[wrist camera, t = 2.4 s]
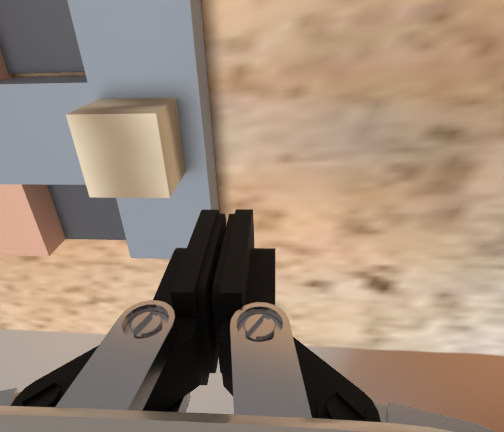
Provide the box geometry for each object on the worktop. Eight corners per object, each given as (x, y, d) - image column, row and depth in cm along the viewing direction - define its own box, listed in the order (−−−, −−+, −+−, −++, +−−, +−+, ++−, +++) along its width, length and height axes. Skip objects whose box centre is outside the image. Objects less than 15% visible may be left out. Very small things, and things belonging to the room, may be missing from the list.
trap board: (196, -45, 21) (167, -64, 16) (221, 238, 31) (209, 284, 26) (-126, -28, 23) (-247, -40, 18) (-5, 235, 33) (-60, 277, 28)
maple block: (175, 97, 22) (156, 113, 19) (185, 172, 25) (169, 198, 21) (99, 98, 23) (65, 114, 19) (116, 171, 25) (89, 197, 22)
